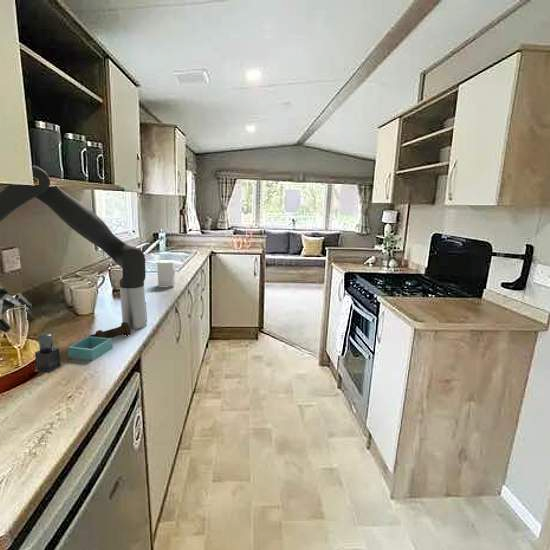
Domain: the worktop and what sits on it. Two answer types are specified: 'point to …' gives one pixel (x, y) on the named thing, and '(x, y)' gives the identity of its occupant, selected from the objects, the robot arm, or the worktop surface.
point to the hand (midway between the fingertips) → (21, 325)
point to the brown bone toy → (114, 331)
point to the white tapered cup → (166, 273)
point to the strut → (47, 353)
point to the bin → (82, 351)
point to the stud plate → (51, 369)
